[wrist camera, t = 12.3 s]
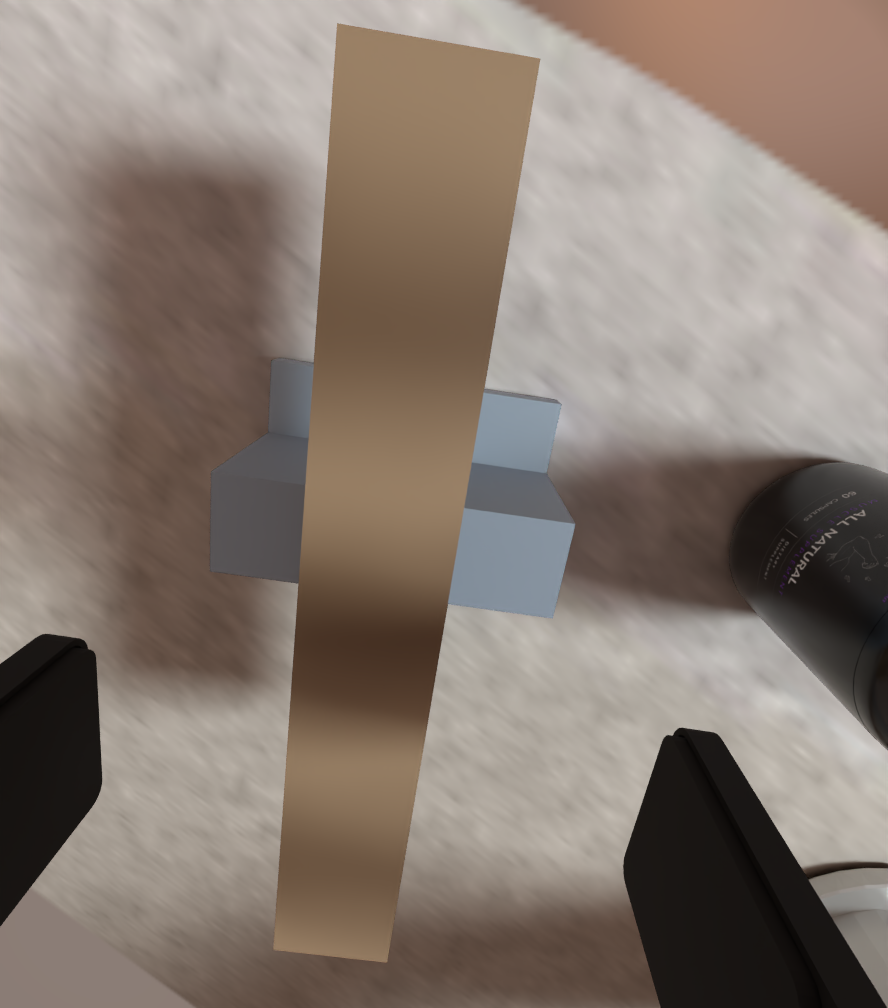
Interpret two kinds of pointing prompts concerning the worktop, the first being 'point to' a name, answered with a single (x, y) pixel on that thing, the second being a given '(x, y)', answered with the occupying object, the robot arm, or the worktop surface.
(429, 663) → the walnut bar
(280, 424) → the fulcrum
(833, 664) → the supplement bottle
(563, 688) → the worktop surface
